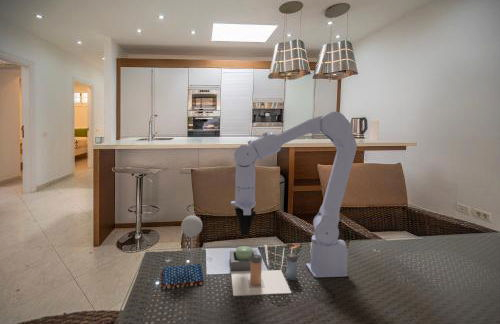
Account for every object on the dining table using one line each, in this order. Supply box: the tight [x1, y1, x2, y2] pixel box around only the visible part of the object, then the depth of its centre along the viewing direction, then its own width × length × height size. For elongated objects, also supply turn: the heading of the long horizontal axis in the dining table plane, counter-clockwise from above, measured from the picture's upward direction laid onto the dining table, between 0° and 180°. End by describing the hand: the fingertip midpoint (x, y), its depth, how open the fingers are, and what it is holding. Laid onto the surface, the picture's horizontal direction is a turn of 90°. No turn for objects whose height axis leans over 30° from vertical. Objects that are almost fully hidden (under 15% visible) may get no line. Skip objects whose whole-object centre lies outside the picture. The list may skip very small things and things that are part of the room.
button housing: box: [229, 249, 258, 272], centre depth 87 cm, size 8×8×2 cm
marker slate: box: [285, 253, 298, 281], centre depth 79 cm, size 3×3×6 cm
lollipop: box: [180, 214, 204, 265], centre depth 84 cm, size 6×6×15 cm
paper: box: [230, 269, 292, 297], centre depth 76 cm, size 14×12×1 cm
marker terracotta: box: [249, 254, 263, 286], centre depth 75 cm, size 3×3×7 cm
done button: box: [235, 245, 253, 261], centre depth 87 cm, size 5×5×3 cm
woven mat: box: [160, 263, 205, 290], centre depth 78 cm, size 10×11×2 cm
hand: (244, 233), depth 86 cm, fingers closed
